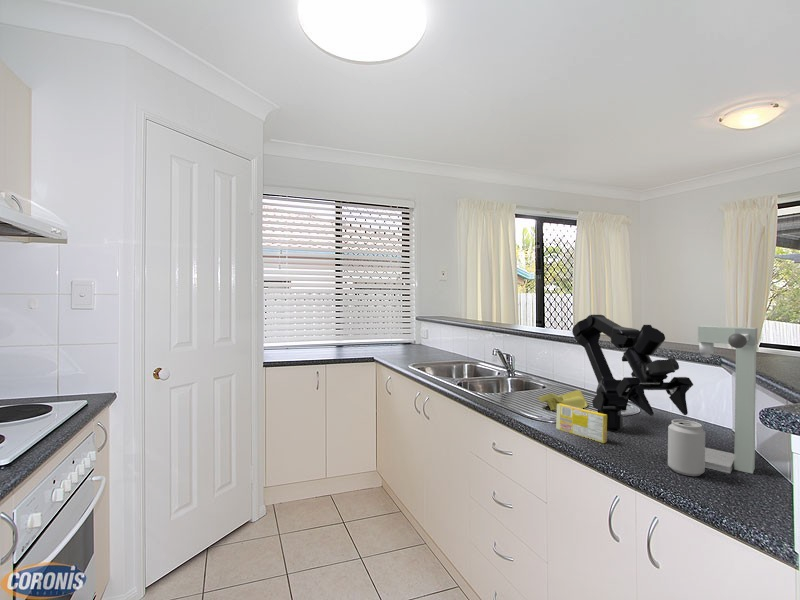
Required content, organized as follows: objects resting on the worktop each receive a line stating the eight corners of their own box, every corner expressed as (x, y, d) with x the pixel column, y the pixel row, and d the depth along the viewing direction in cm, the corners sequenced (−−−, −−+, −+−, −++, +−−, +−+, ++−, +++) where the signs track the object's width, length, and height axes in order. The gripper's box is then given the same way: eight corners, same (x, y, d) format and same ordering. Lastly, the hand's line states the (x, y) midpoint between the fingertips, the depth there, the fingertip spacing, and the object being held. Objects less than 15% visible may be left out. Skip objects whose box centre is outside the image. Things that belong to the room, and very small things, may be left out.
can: (697, 466, 105) (697, 419, 105) (710, 479, 98) (711, 428, 98) (663, 463, 107) (663, 416, 107) (673, 475, 100) (674, 425, 100)
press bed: (673, 459, 109) (673, 454, 109) (683, 448, 118) (683, 442, 118) (730, 473, 101) (730, 467, 101) (736, 459, 110) (736, 454, 110)
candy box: (607, 442, 122) (607, 414, 122) (603, 444, 121) (603, 415, 121) (559, 427, 136) (559, 402, 136) (555, 429, 135) (555, 403, 135)
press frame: (682, 479, 98) (684, 329, 97) (700, 455, 113) (701, 325, 112) (745, 495, 90) (747, 332, 89) (755, 467, 104) (757, 328, 104)
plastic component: (560, 395, 171) (582, 388, 164) (567, 413, 168) (589, 407, 162) (532, 398, 159) (555, 391, 152) (539, 418, 156) (562, 412, 149)
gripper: (622, 347, 113) (649, 398, 102) (688, 347, 114) (722, 397, 103) (606, 371, 121) (629, 421, 110) (667, 371, 122) (696, 420, 111)
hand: (669, 414), depth 108 cm, fingers open, 9 cm apart
